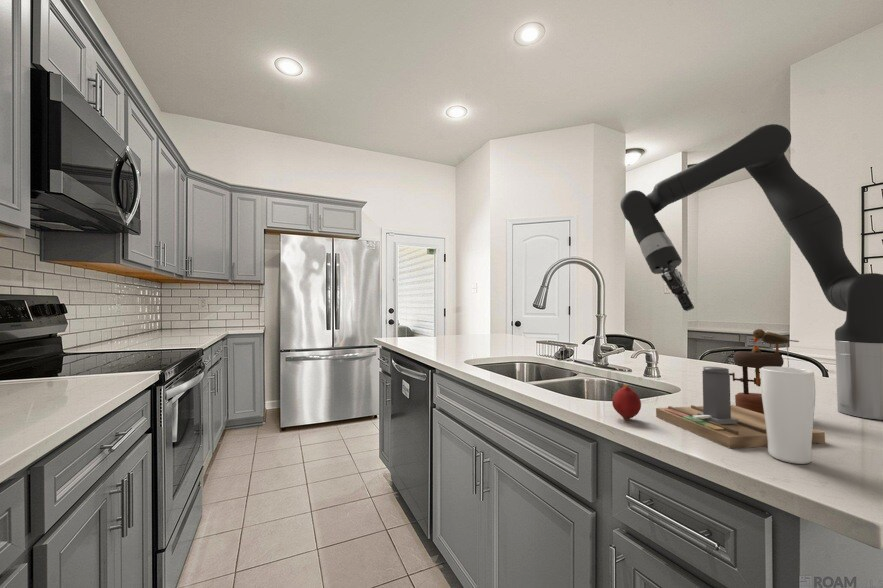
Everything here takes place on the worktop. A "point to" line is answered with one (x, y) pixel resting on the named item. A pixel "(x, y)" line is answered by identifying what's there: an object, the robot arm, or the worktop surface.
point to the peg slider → (716, 396)
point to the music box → (757, 368)
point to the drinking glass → (788, 412)
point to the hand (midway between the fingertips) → (689, 309)
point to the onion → (626, 402)
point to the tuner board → (726, 426)
